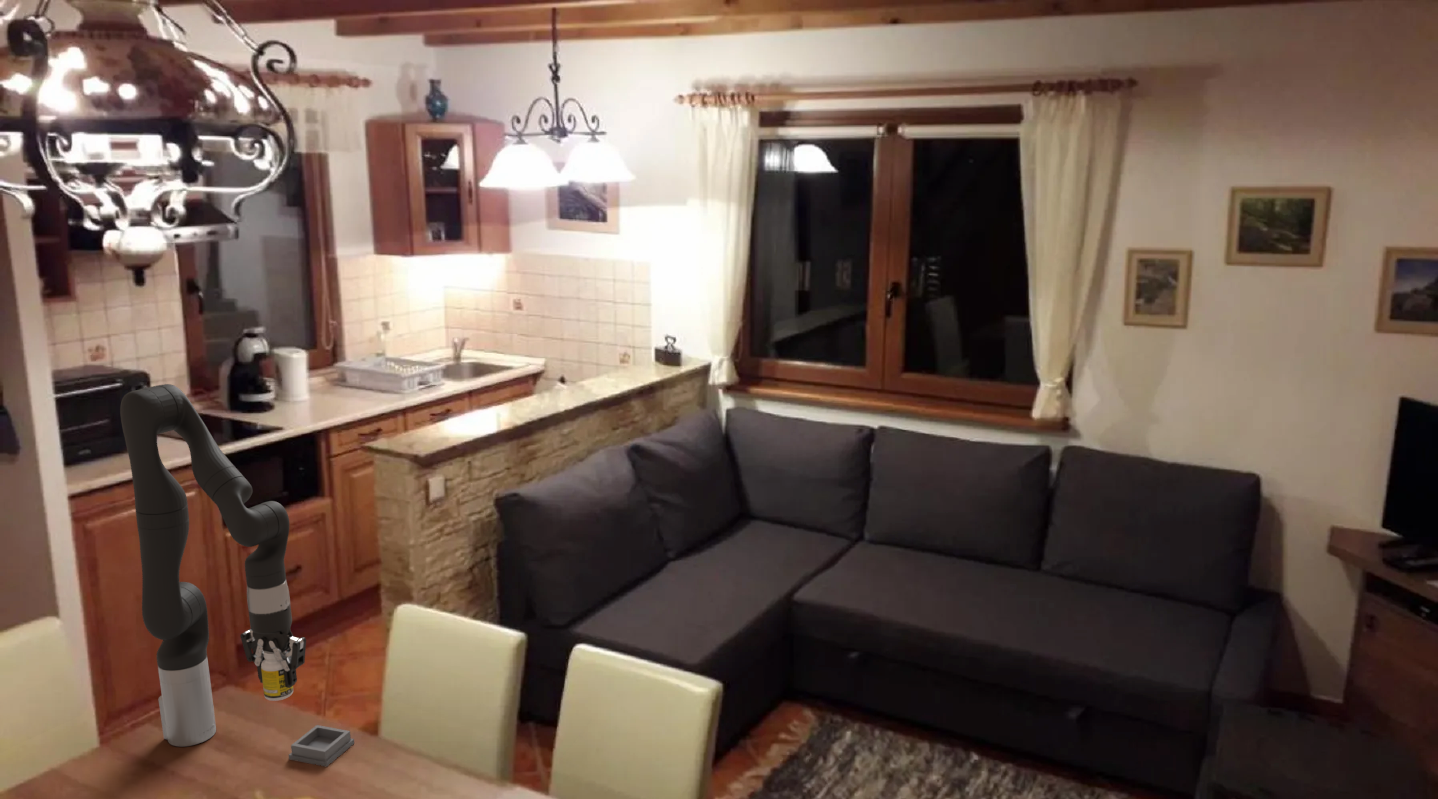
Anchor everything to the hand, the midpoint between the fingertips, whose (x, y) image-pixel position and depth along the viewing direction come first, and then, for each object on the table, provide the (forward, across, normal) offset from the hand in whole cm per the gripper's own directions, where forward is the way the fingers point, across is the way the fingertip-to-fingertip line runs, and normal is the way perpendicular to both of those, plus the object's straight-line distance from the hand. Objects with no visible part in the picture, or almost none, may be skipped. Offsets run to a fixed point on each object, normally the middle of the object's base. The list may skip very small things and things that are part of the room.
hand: (278, 683), depth 211 cm
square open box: (+18, +4, +6) cm, 19 cm away
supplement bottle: (+3, 0, 0) cm, 3 cm away
